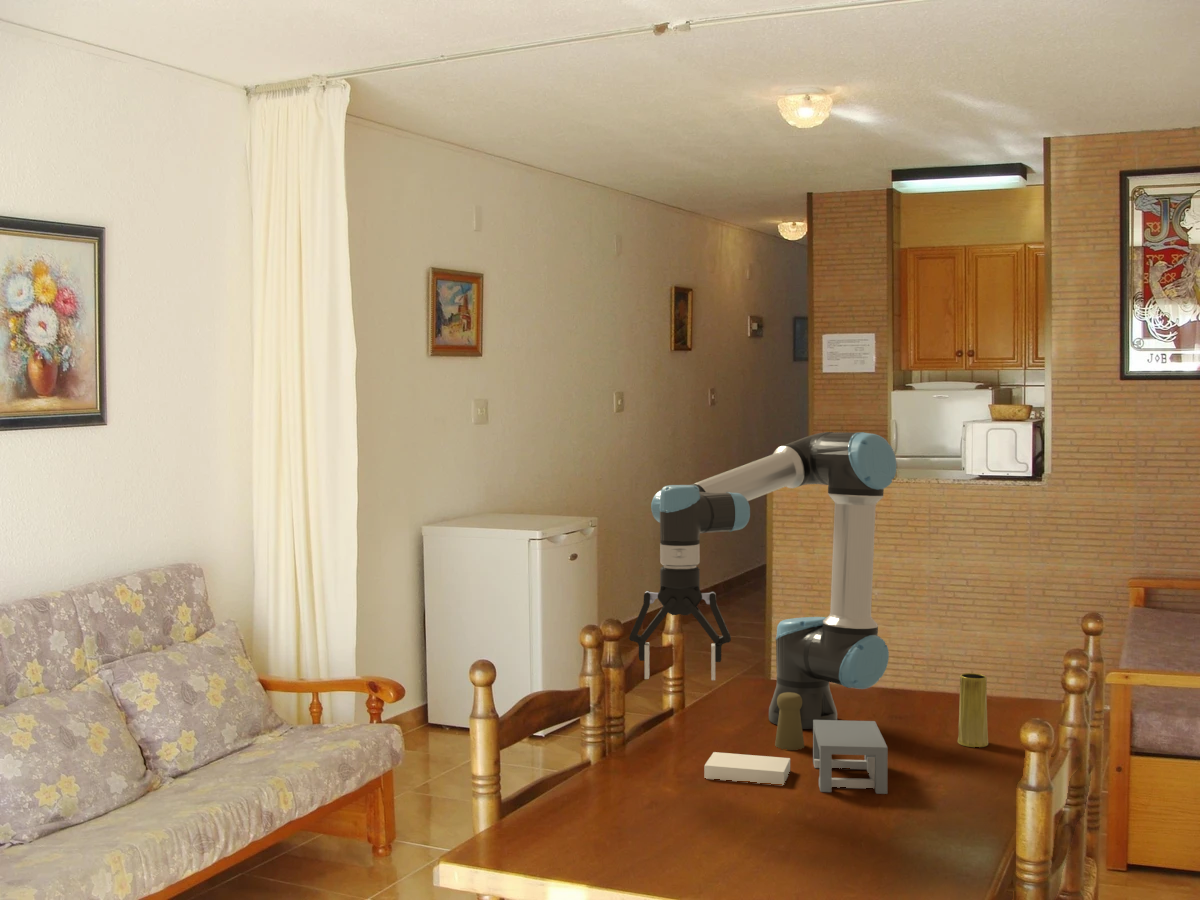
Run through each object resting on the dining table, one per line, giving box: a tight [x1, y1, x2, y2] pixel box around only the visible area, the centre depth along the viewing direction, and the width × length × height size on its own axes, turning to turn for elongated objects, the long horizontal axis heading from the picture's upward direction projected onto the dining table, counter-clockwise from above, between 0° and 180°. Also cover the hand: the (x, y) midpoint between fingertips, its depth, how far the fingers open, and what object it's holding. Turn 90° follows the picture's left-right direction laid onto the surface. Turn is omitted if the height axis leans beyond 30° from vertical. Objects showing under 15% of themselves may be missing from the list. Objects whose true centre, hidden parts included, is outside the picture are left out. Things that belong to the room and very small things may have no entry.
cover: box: [703, 751, 791, 786], centre depth 226 cm, size 9×15×3 cm, turn 73°
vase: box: [957, 672, 989, 748], centre depth 246 cm, size 6×6×14 cm
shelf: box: [812, 719, 889, 795], centre depth 224 cm, size 18×12×8 cm, turn 174°
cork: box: [774, 692, 805, 751], centre depth 245 cm, size 6×6×11 cm
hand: (680, 678), depth 227 cm, fingers open, 12 cm apart
